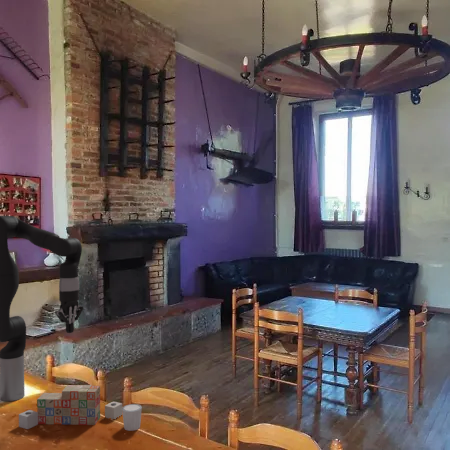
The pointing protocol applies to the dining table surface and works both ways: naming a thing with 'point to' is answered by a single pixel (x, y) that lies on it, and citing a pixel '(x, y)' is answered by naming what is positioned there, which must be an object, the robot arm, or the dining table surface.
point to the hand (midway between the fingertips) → (69, 332)
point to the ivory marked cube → (113, 410)
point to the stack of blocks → (70, 406)
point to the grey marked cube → (28, 419)
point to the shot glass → (132, 416)
